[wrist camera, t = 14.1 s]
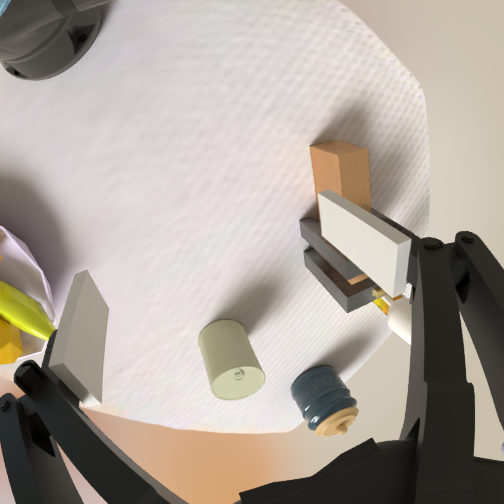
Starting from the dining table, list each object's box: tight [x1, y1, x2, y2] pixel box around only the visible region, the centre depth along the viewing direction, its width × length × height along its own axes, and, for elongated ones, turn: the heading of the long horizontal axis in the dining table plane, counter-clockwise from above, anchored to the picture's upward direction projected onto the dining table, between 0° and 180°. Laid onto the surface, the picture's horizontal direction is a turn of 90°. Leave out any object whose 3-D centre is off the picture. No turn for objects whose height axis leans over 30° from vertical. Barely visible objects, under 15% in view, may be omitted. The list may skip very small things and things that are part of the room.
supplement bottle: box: [373, 294, 406, 316], centre depth 58 cm, size 6×6×10 cm
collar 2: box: [304, 248, 409, 313], centre depth 47 cm, size 3×12×15 cm, turn 102°
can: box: [198, 320, 265, 400], centre depth 50 cm, size 9×9×12 cm
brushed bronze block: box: [309, 140, 371, 285], centre depth 46 cm, size 24×5×8 cm, turn 12°
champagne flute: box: [381, 294, 411, 345], centre depth 49 cm, size 7×7×24 cm
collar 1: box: [299, 208, 414, 281], centre depth 44 cm, size 3×12×14 cm, turn 102°
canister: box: [291, 365, 358, 436], centre depth 64 cm, size 13×13×18 cm
